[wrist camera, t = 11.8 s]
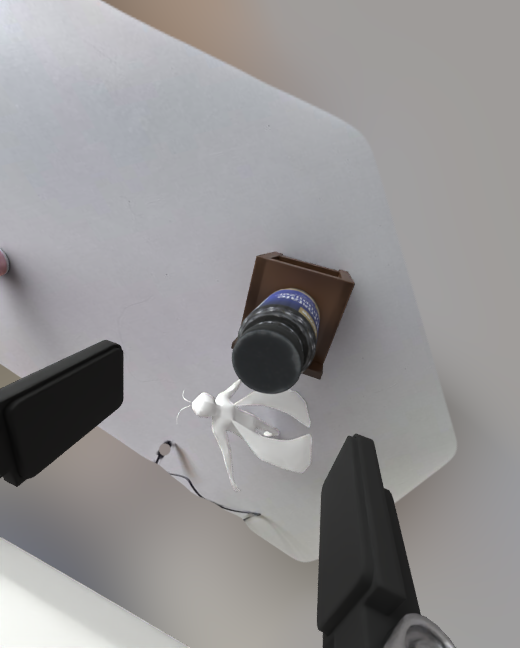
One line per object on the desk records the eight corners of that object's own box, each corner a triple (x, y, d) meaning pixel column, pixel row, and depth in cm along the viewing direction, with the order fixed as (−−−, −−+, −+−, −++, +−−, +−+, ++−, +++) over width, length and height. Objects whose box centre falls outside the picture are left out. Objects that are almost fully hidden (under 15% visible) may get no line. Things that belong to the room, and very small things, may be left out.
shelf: (274, 251, 33) (250, 257, 23) (348, 271, 31) (357, 287, 21) (257, 318, 37) (230, 348, 27) (322, 339, 35) (320, 379, 25)
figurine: (325, 497, 34) (254, 481, 20) (256, 496, 38) (160, 482, 24) (313, 389, 43) (260, 328, 30) (260, 398, 48) (192, 348, 34)
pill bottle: (332, 306, 24) (334, 354, 14) (300, 352, 27) (283, 420, 17) (279, 275, 25) (245, 300, 15) (252, 323, 27) (207, 372, 17)
